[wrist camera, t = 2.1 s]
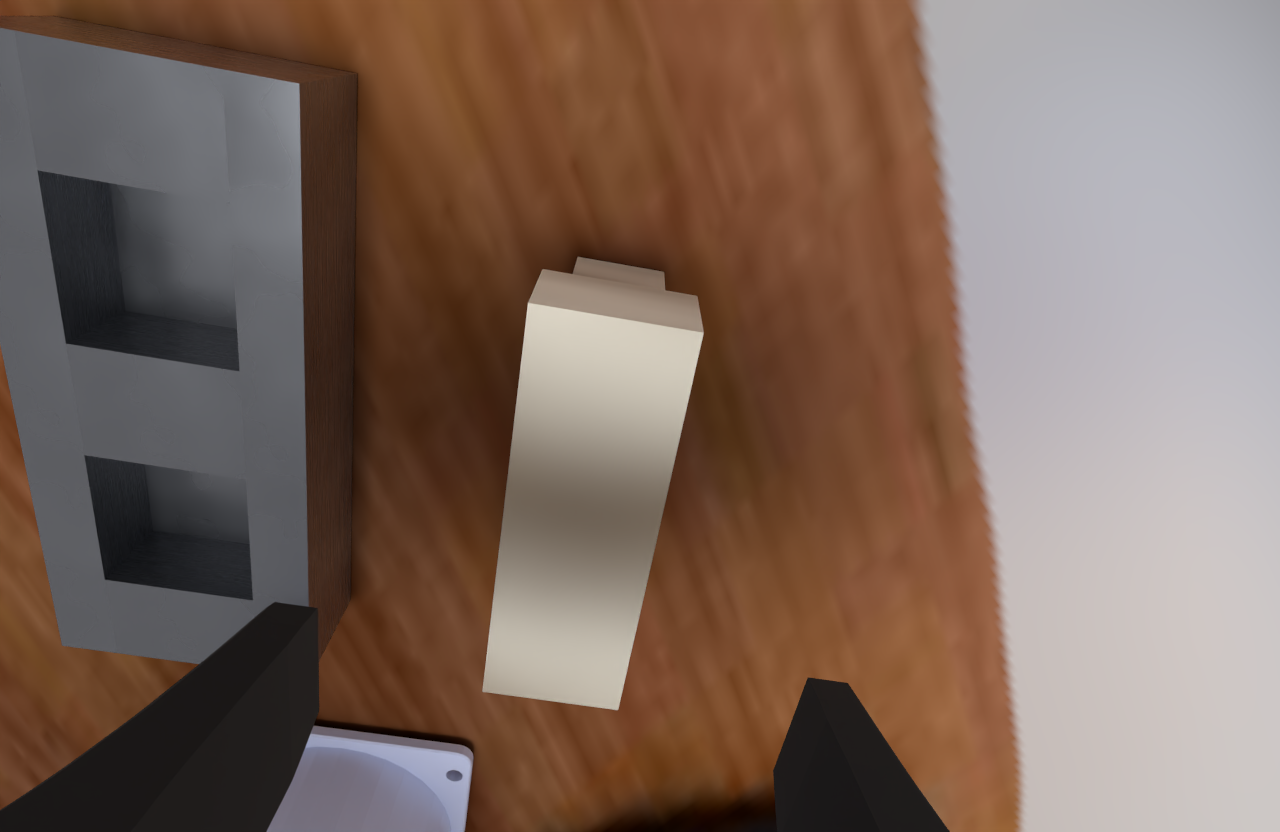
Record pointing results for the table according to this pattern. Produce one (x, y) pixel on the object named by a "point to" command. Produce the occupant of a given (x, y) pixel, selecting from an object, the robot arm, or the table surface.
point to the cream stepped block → (588, 478)
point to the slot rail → (178, 329)
